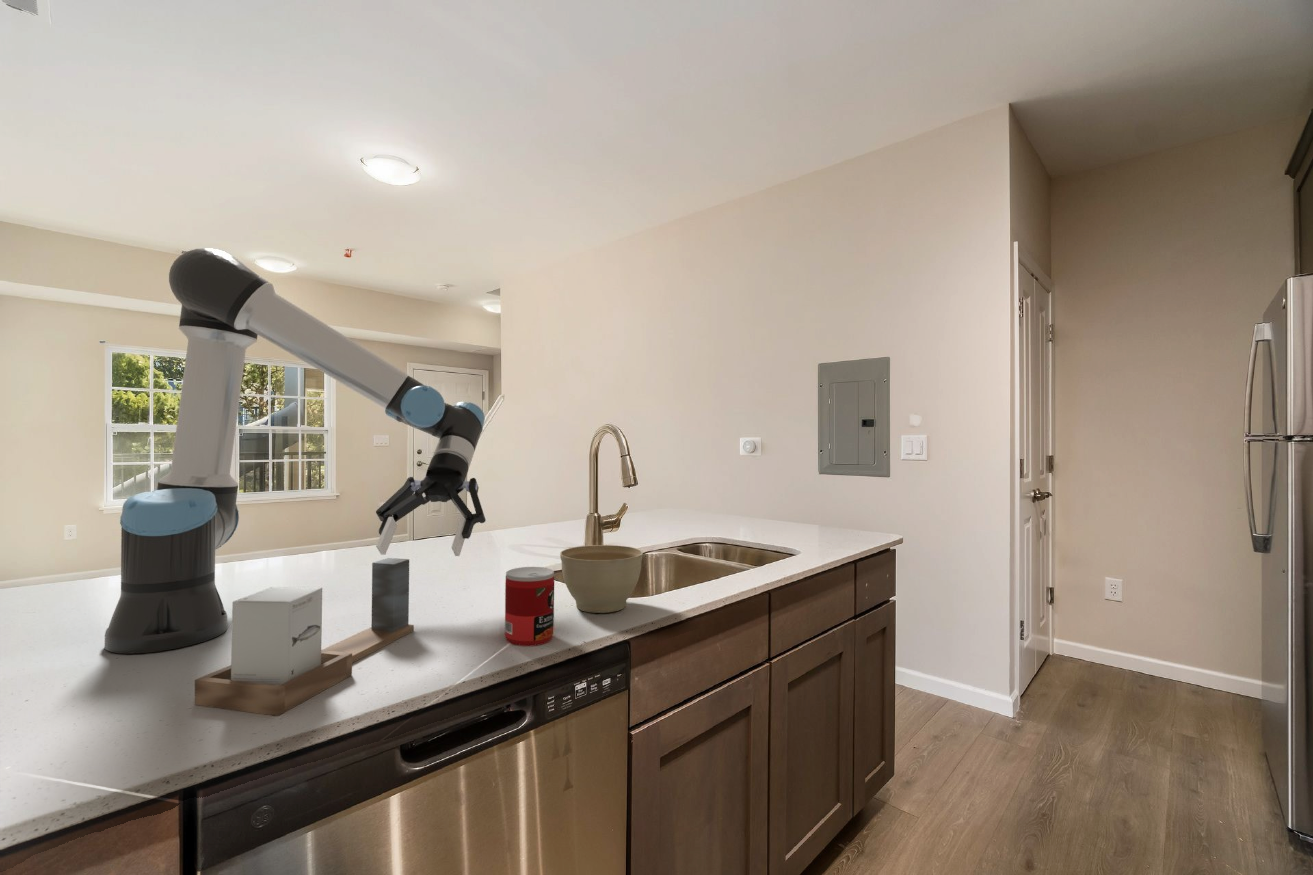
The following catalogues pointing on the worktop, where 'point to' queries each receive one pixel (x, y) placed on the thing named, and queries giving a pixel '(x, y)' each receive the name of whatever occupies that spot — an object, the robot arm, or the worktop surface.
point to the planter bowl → (601, 575)
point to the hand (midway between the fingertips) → (417, 551)
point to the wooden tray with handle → (335, 659)
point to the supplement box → (276, 634)
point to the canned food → (529, 606)
